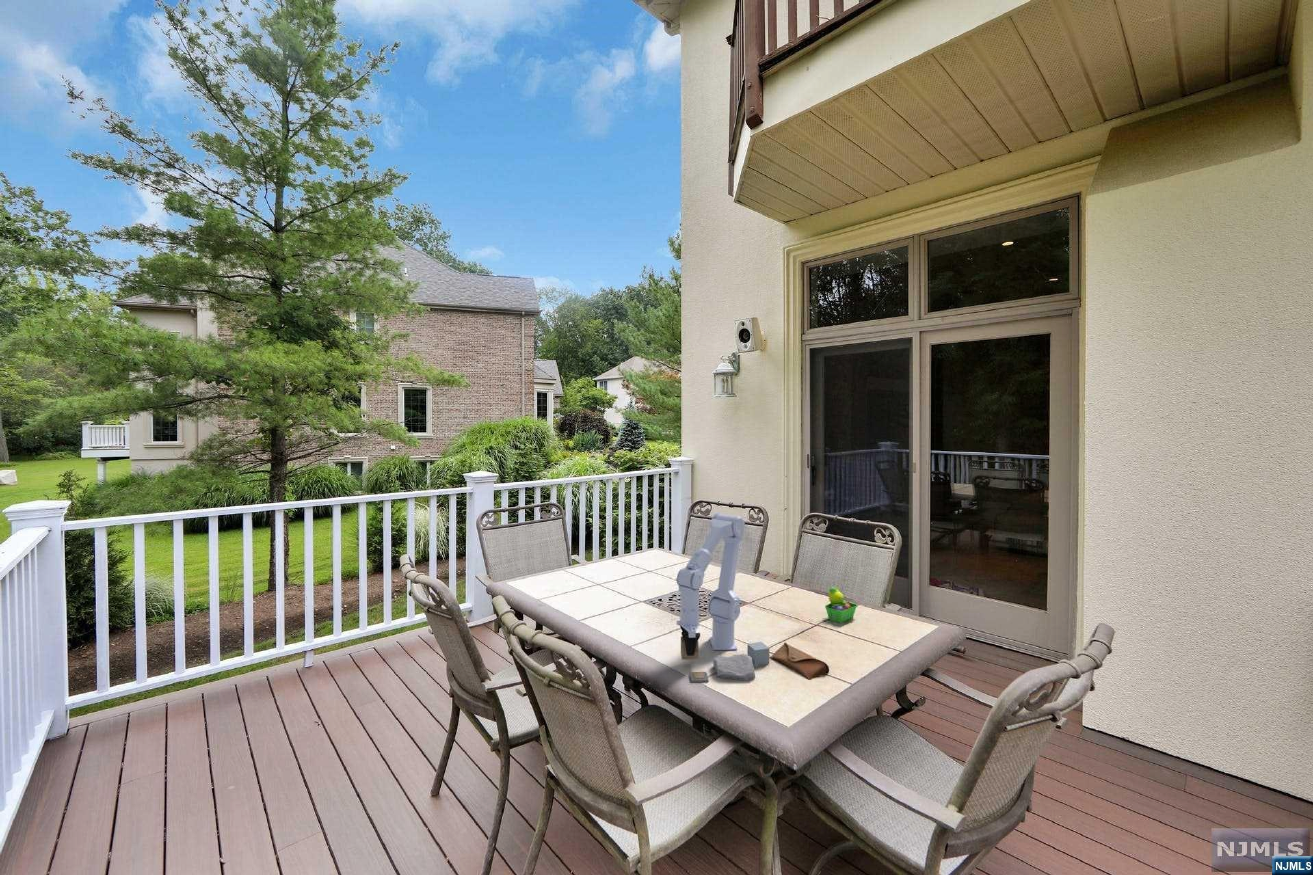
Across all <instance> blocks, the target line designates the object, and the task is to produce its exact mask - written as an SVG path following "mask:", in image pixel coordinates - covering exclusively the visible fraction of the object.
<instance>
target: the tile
mask: <svg viewBox="0 0 1313 875" xmlns="http://www.w3.org/2000/svg"><path fill="white" fill-rule="evenodd" d="M689 678H690V682H691V683H709V681H710V680H709V677H708V674H707V671H689Z"/></svg>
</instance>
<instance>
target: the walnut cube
mask: <svg viewBox="0 0 1313 875" xmlns="http://www.w3.org/2000/svg"><path fill="white" fill-rule="evenodd" d="M699 648H700V647H699V641H698V642H697V645H696V649H695V654H694V656H687V652H686V646H685V641H684V639H683V637H682V636H680V654H681V660H699V657H700V656H699Z"/></svg>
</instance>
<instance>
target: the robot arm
mask: <svg viewBox="0 0 1313 875" xmlns="http://www.w3.org/2000/svg"><path fill="white" fill-rule="evenodd" d="M709 525H710V526H709V527H710V530H709V531H708V534H707V535H706V537H705V540H704V542H703V544H702V546H701V548H699V549H696V550H695V551H694V553H693V555H692V556H691V558H690V559H689V561H688V563H687V564H686V566H685V567H682V568H680V570H679V571H678V573H677V576H676V579H675V581H676V584H677V586H678V591H679V593H680V597H679V598H680V603H679V604H680V609H679V610H680V617H679V619H680V620H677V621H676V625H677V626H679V627H680V629H681V632H680V633H681V637H683V639H684V641H685V646H686V652H687V656H694V654H695V649H696V645H697V642H698V643H699V640H700V638H701V633H700V632H697V629H698V628H699V626H700V623H701V622H700V588H701V587H702V586H703V582H704V578H705V575H706V574H705V572H706V570H707V568H708V567H709V565H710V563H711V562H712V553H713V552H714V550H715V549H716V547H717V546H718V545H719V544H720V542H721V540H723V542H724V545H723V551H722V559H721V566H720V572H719V580H718V587H717V589H715V590H713V591H712V592H711V593H710V597H709V600H708V602H707V612H708V615H710V618H711V619H712V630H711V631H712V632H711V634H712V635H711V636H710V637H709V641H710V643H711V644H710V645H711V647H712V650H713V651H728V650H729V651H732V650H733V651H735V650H738V646H737V644H736V642H735V622H736V621H737V619H738V618H739V616H740V614H741V607H740V606H741V605H740V602H741V599H740V597H739V596H738V595H737V593H736V592H735V591H734V590H735V582H736V575H737V567H738V560H739V551H740V547H741V546H740V545H741V542H742V541H743V540H744V534H745V533H744V532H745V525H746V523H745V521H744V519H743V516H741V515H732V514H731V515H730V514H725V513H719V512H716V513H714V514H713V516H712V517H711V520H710V524H709Z"/></svg>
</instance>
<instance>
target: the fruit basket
mask: <svg viewBox="0 0 1313 875" xmlns="http://www.w3.org/2000/svg"><path fill="white" fill-rule="evenodd" d="M844 599H845V596H844V595H843V593H842V592H840V591H839V589H838V588H836V587H834V586H831V587H830V588H829V591H828V601H829V602H830V603H828V604H826V605H825V606H824V608H825V610H826V614H827V617H828V619H829V620H830V619H831V621H834V622H836V621H837V623H840V624H841V623H843V621H844V622H846V621H847V620H850V619H852V618H854V616H855V612H856V609H857V606H858V604H856V603H854V602H850V601H847V600H844Z"/></svg>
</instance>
